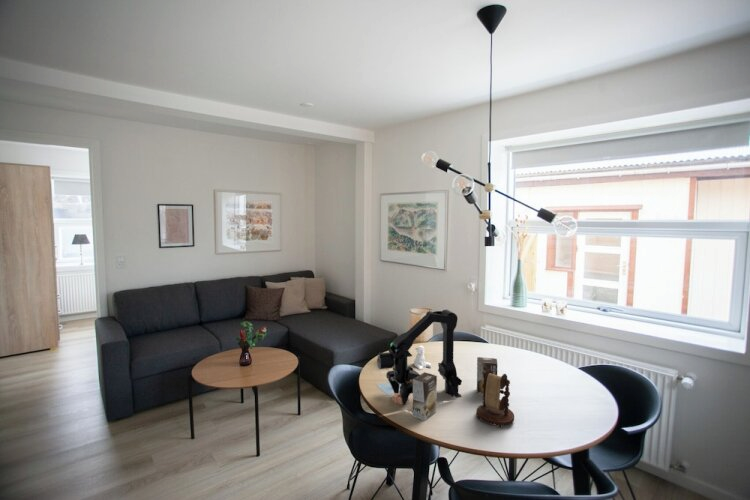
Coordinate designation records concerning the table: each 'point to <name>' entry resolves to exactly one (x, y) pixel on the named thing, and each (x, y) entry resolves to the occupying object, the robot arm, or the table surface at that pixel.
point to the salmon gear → (398, 398)
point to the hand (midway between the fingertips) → (400, 400)
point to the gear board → (387, 388)
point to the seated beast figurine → (421, 359)
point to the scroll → (495, 400)
